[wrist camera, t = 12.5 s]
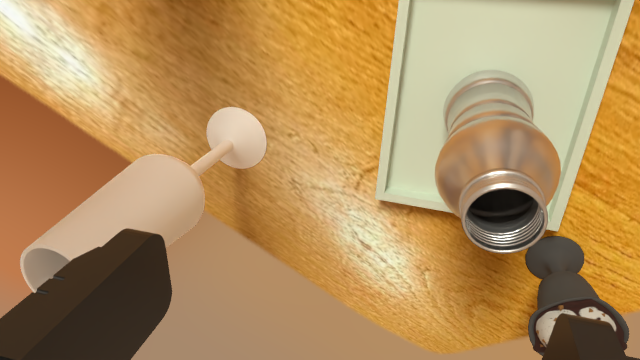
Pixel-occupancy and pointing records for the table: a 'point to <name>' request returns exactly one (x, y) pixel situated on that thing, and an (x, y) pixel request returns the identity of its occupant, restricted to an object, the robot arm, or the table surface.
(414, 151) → the tray
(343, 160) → the table surface
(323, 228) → the table surface
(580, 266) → the sundae
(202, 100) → the table surface
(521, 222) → the silver metal bottle
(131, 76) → the table surface
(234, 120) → the champagne flute
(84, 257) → the robot arm
